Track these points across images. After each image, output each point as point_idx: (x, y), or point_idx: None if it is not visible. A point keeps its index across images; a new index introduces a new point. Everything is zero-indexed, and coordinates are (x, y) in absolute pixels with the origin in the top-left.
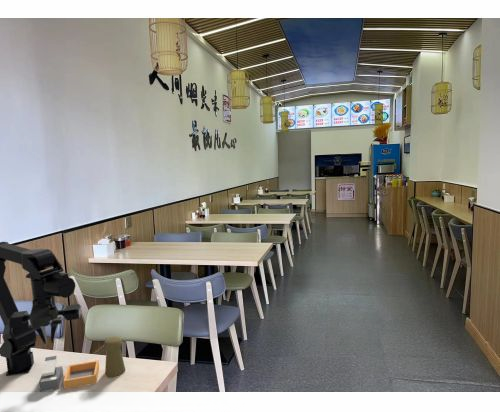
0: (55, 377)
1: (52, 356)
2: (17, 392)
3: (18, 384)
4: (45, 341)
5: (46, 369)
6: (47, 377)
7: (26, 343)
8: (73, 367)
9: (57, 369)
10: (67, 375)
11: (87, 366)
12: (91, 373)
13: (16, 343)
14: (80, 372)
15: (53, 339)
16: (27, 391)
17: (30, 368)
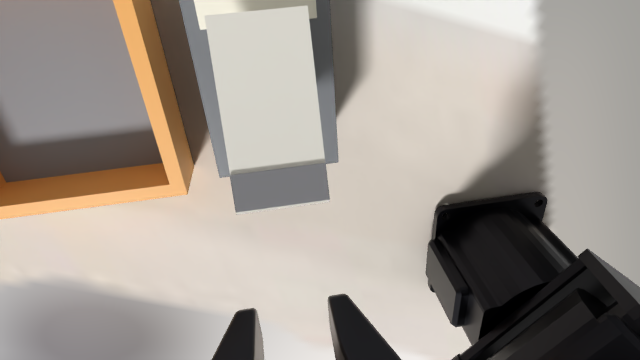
0: (203, 16)
1: (270, 206)
2: (462, 9)
3: (470, 101)
4: (335, 319)
5: (281, 56)
6: None
7: (525, 358)
8: (152, 178)
9: None
10: (133, 62)
11: (60, 185)
12: (6, 118)
13: (627, 343)
14: (105, 147)
15: (219, 347)
16: (402, 4)
17: (433, 234)
